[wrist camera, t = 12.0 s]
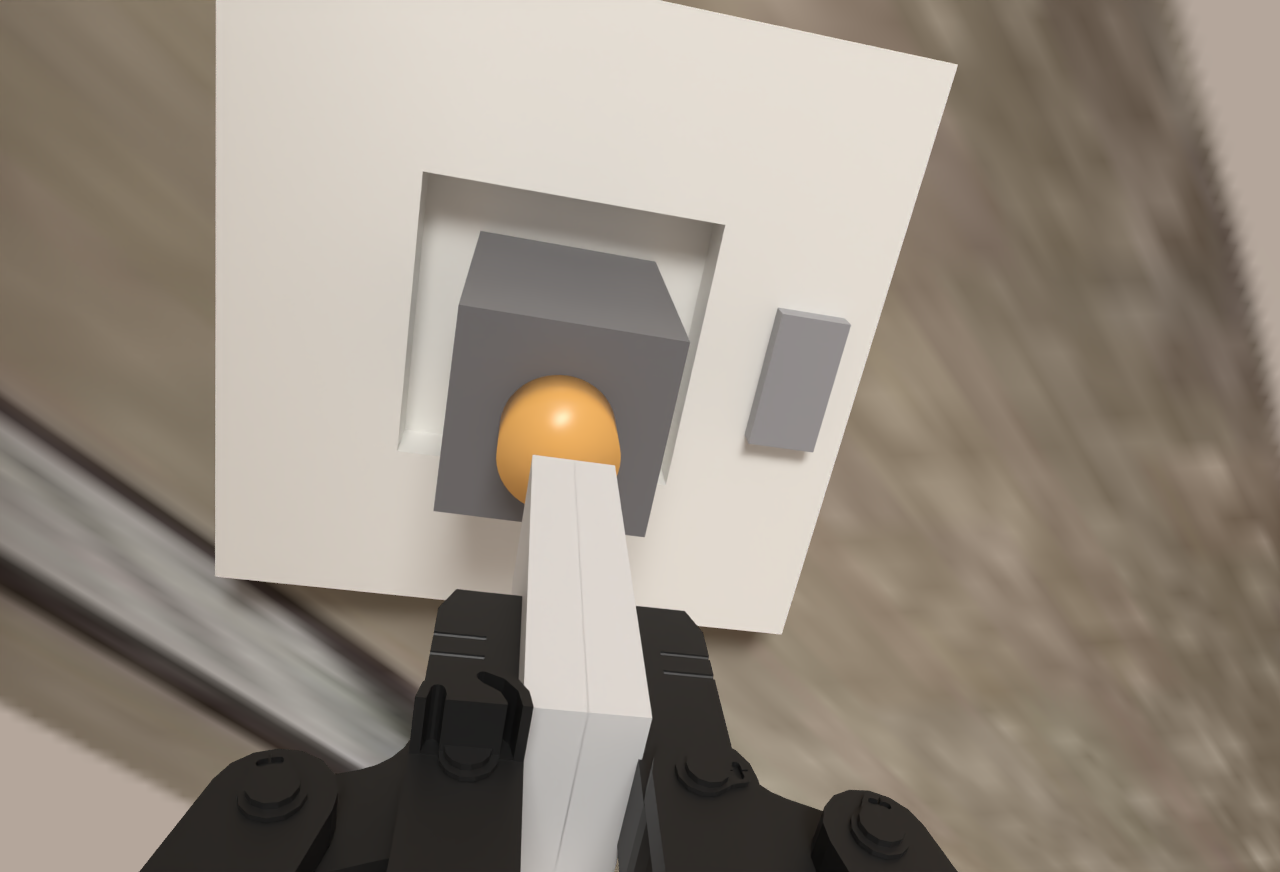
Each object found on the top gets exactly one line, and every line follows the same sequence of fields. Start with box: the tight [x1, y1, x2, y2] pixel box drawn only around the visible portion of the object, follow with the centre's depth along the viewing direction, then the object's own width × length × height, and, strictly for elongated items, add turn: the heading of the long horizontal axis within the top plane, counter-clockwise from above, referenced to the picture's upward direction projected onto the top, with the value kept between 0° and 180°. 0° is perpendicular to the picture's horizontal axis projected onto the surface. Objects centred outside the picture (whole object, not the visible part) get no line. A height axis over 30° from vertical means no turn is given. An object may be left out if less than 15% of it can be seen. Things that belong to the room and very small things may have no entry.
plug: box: [433, 231, 690, 537], centre depth 23 cm, size 5×5×8 cm
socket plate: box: [215, 0, 958, 634], centre depth 26 cm, size 18×18×3 cm
